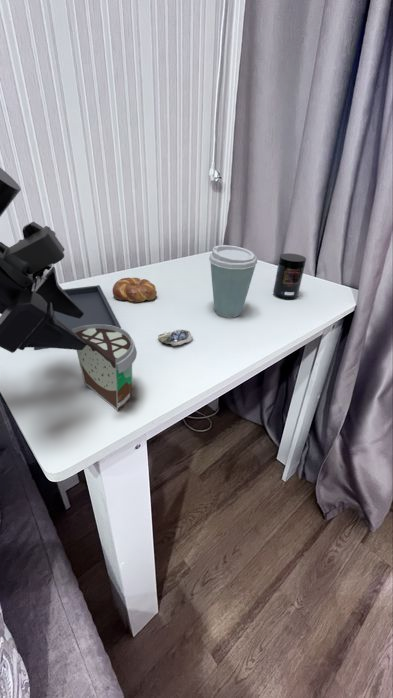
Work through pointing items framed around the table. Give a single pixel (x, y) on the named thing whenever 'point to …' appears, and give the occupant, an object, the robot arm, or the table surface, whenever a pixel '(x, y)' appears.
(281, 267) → the supplement container
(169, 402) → the table surface
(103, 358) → the food container
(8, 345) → the robot arm
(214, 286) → the disposable coffee cup
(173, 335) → the crystal geode
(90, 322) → the tray
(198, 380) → the table surface
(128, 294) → the pretzel
